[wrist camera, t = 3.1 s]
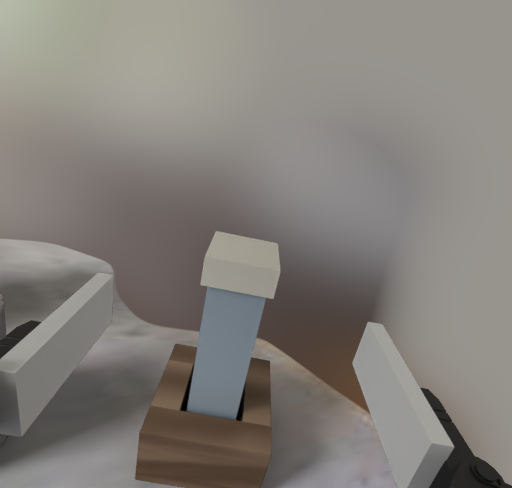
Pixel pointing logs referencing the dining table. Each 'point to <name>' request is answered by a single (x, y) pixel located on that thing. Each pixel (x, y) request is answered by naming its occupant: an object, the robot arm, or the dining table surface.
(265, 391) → the socket block
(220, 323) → the plug
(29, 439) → the dining table surface
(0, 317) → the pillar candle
